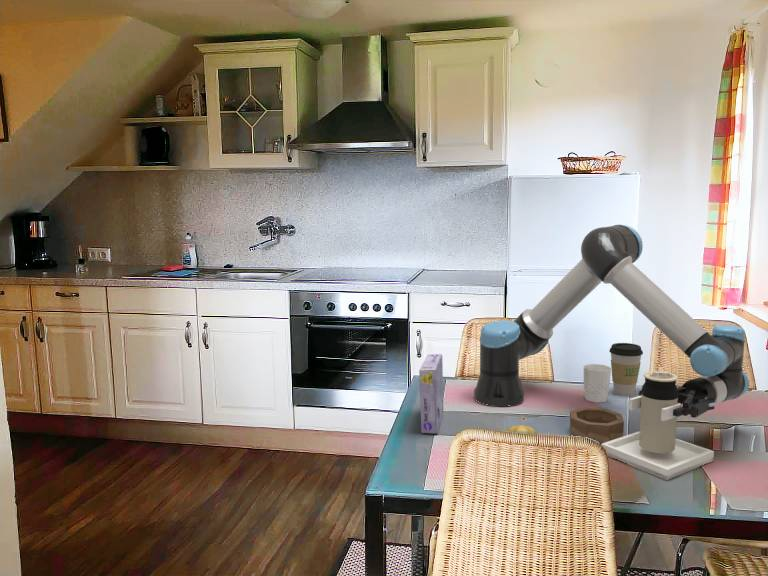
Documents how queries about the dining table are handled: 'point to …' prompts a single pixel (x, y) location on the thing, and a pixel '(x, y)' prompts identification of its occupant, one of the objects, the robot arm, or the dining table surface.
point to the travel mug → (658, 412)
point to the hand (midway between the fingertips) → (646, 409)
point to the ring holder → (596, 424)
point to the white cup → (596, 382)
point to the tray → (658, 456)
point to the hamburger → (522, 428)
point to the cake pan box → (431, 393)
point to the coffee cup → (625, 367)
